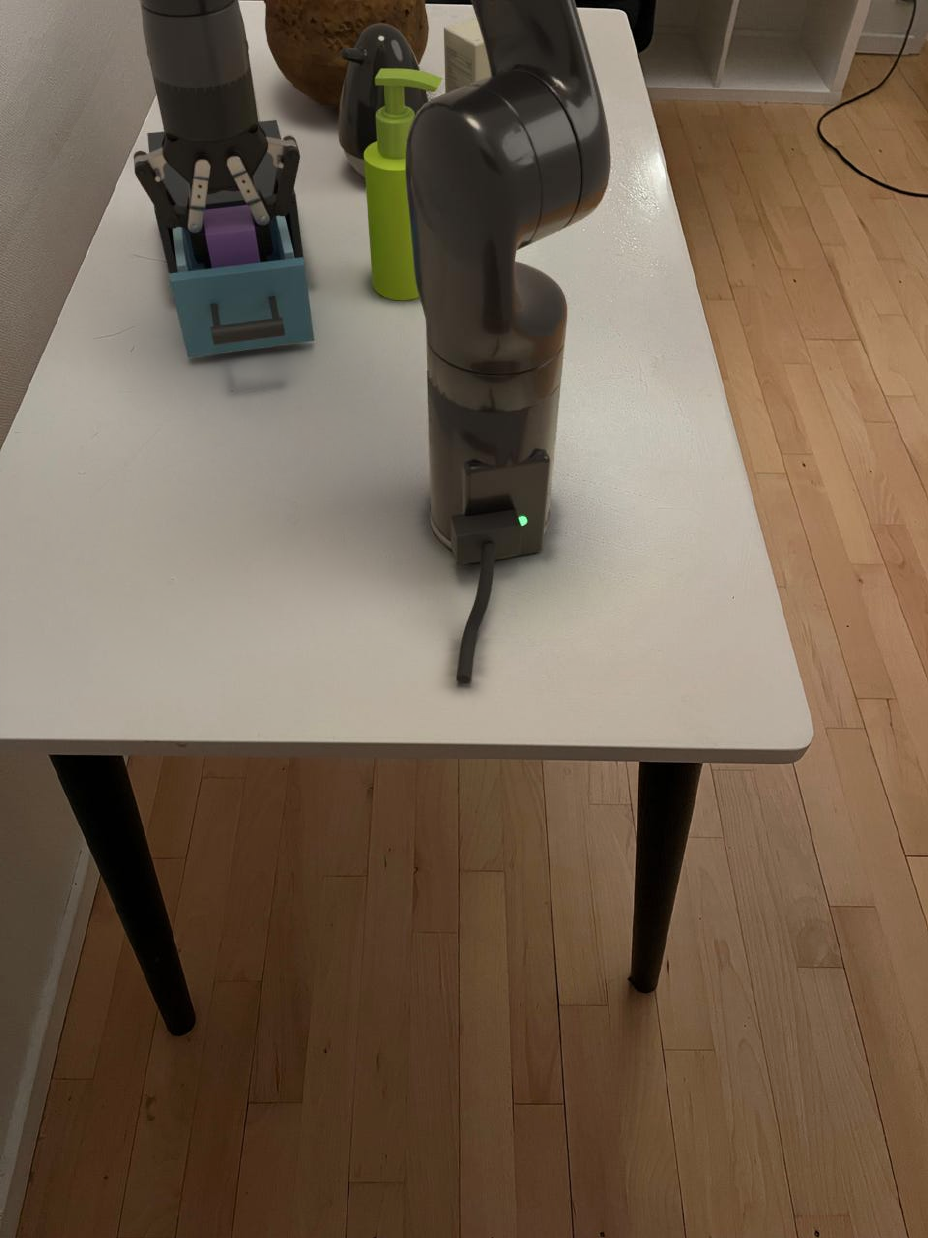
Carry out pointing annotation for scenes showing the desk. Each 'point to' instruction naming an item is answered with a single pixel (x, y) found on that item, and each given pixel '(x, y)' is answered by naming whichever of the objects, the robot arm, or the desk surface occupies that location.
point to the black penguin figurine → (371, 87)
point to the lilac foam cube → (231, 236)
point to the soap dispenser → (392, 186)
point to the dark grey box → (223, 195)
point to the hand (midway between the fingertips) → (235, 260)
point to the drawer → (241, 299)
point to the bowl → (333, 38)
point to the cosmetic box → (464, 55)
